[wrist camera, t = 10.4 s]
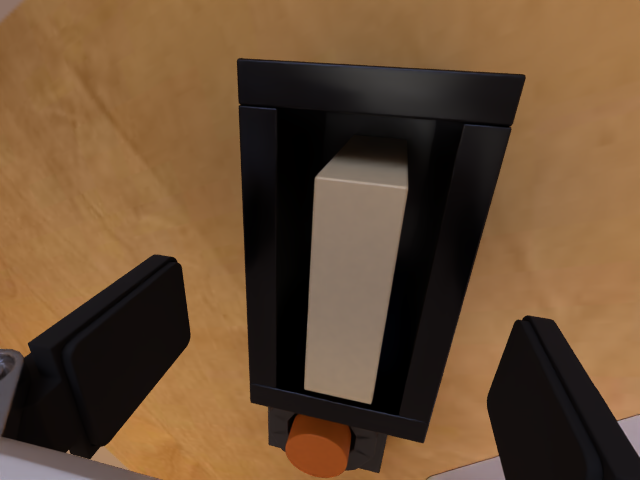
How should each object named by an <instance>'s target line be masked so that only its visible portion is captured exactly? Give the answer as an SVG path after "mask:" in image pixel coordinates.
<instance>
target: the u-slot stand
mask: <svg viewBox="0 0 640 480" xmlns="http://www.w3.org/2000/svg"><path fill="white" fill-rule="evenodd" d="M617 422H618V423H619V425H620V427H621V428H622V430H623V431H624V433H625V435H626V436H627V438H628V440H629V441H630V443H631V444H632V446H633V448H634V449H635V451H636V452H637V454H638V456H639V457H640V415H637V416H633V417H630V418H627V419H623V420H620V421H617ZM427 480H505V477H504V473H503V469H502V465H501V461H500V457H499V456H498V457H495V458H492V459H488V460H485V461H481V462H478V463H475V464H471V465H468V466H465V467H461V468H458V469H454V470H451V471H448V472H444V473H441V474H438V475H434V476H431V477H429V478H428V479H427Z"/></svg>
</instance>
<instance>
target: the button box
mask: <svg viewBox="0 0 640 480" xmlns="http://www.w3.org/2000/svg"><path fill="white" fill-rule="evenodd" d="M296 416H297V413H293V412H289V411H284V410H280V409H276V408H272V407H268V431H269V445H271V446H275V447H279V448H281V449H282V450H283V451H284V452H286V451H285V446H286V443H287V440H288V437H289V434H290V430H291V427H292V424H293V421H294V418H295V417H296ZM349 428H350V430H351V444H350V450H349V457H348V463H347V467H346V469H345V470H344V471H346V470H355V469H357V468H361V469H365V470H369V471H372V472H376V473H379V472H380V468H381V463H382V458H383V453H384V448H385V444H386V439H387V435H386V434H382V433H377V432H373V431H369V430H365V429H360V428H356V427H352V426H349Z"/></svg>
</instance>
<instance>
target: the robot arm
mask: <svg viewBox="0 0 640 480" xmlns="http://www.w3.org/2000/svg"><path fill="white" fill-rule="evenodd" d="M189 341H190V326H189V318H188V311H187V303H186V296H185V288H184V280H183V273H182V267H181V265H180V264H179V263H177V260H176V259H175V258H174V257H169V256H163V255H153V256H151V257H149V258H148V259H147V260H145V261H144V262H142V263H141V264H140V265H138V266H137V267H135V268H134V269H132V270H131V271H130V272H128V273H127V274H125V275H124V276H123V277H121V278H120V279H118V280H117V281H115V282H114V283H113V284H111V285H110V286H108V287H107V288H106V289H104V290H103V291H101V292H100V293H98V294H97V295H96V296H94V297H93V298H91V299H90V300H89V301H87V302H86V303H84V304H83V305H81V306H80V307H79V308H77V309H76V310H74V311H73V312H72V313H70V314H69V315H67V316H66V317H64V318H63V319H62V320H60V321H59V322H57V323H56V324H55V325H53V326H52V327H50V328H49V329H47V330H46V331H45V332H43V333H42V334H40V335H39V336H38V337H36V338H35V339H33V340H32V341H30V342H29V343H28V346H29V348H30V351H31V353H30V354H29V355H27V356H26V357H25V358H24V357H23V355H22V354H21V353H20V352H18V351H16V350H13V349H0V480H161V479H158V478H154V477H151V476H147V475H143V474H140V473H136V472H133V471H129V470H125V469H122V468H118V467H115V466H111V465H107V464H104V463H100V462H96V461H92V460H89V459H91V458H92V456H93V455H94V454H95V453H96V451H97V450H98V449H99V448H100V447H101V446H105V445H106V444H108V443H109V442H110V441H111V440H112V438H113V437H114V436H115V435H116V433H117V432H118V431H119V430H120V428H121V427H122V426H123V425H124V423H125V422H126V421H127V420H128V419H129V417H130V416H131V415H132V414H133V412H134V411H135V410H136V409H137V407H138V406H139V405H140V404H141V402H142V401H143V400H144V399H145V398H146V396H147V395H148V394H149V393H150V391H151V390H152V389H153V388H154V386H155V385H156V384H157V383H158V381H159V380H160V379H161V378H162V376H163V375H164V374H165V373H166V372H167V370H168V369H169V368H170V367H171V365H172V364H173V363H174V362H175V360H176V359H177V358H178V357H179V355H180V354H181V353H182V352H183V350H184V349H185V348H186V347H187V345H188V343H189ZM487 409H488V413H489V417H490V421H491V425H492V429H493V433H494V437H495V441H496V445H497V449H498V453H499V457H500V461H501V465H502V469H503V473H504V477H505V480H640V457H639V456H638V454H637V452H636V451H635V449H634V448H633V446H632V444H631V443H630V441H629V440H628V438H627V436H626V435H625V433H624V431H623V430H622V428H621V427H620V425H619V423H618V422H617V420H616V419H615V417H614V415H613V414H612V412H611V411H610V409H609V407H608V406H607V404H606V403H605V401H604V399H603V398H602V396H601V395H600V393H599V391H598V390H597V388H596V387H595V386H594V384H593V383H592V381H591V379H590V378H589V376H588V374H587V373H586V371H585V370H584V368H583V366H582V365H581V363H580V362H579V360H578V358H577V357H576V355H575V354H574V352H573V350H572V349H571V347H570V345H569V344H568V342H567V341H566V339H565V337H564V336H563V334H562V333H561V331H560V329H559V328H558V326H557V324H556V323H555V322H554V321H553V320H551V319H546V318H540V317H534V316H528V315H527V316H525V317H524V318H523V320H516V321H515V323H514V325H513V328H512V331H511V333H510V336H509V339H508V341H507V344H506V347H505V350H504V352H503V355H502V358H501V360H500V363H499V366H498V369H497V371H496V374H495V377H494V380H493V382H492V385H491V388H490V390H489V393H488V397H487ZM68 450H70V453H71V454H73V455H71V454H67V453H66V452H67V451H68ZM75 455H76V456H75ZM78 456H80V457H78ZM82 457H83V458H82ZM86 458H87V459H86Z"/></svg>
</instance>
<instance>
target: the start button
mask: <svg viewBox="0 0 640 480" xmlns="http://www.w3.org/2000/svg"><path fill="white" fill-rule="evenodd" d="M350 444H351V430H350V428H349V426H348V425H344V424H339V423H335V422H331V421H327V420H322V419H318V418H314V417H310V416H305V415H301V414H297V416H296V417H295V418H294V421H293V424H292V427H291V430H290V434H289V437H288V440H287V443H286V446H285V451H286V455H287V457H288V459H289V460H290V462H291V463H292V464H293V465H294V466H295V467H296V468H298V469H299V470H301V471H303V472H304V473H307V474H309V475H312V476H316V477H321V478H330V477H335V476H338V475H340V474H341V473H343V472H344V470H345V469H346V467H347V463H348V457H349V450H350Z"/></svg>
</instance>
